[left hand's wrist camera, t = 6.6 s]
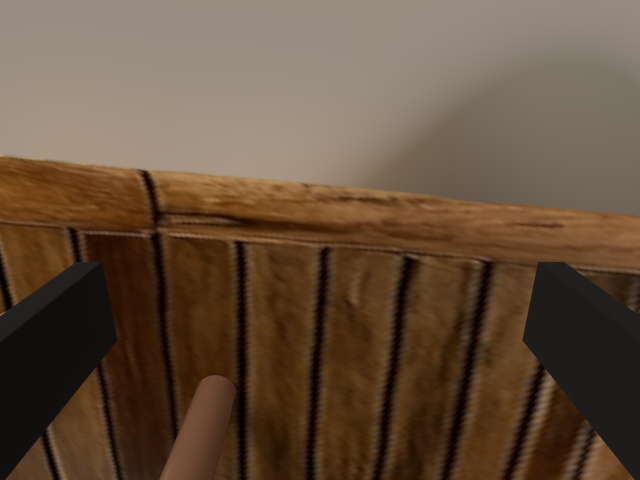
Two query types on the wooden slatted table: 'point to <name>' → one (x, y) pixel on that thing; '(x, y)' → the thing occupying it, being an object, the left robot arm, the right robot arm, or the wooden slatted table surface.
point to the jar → (202, 431)
